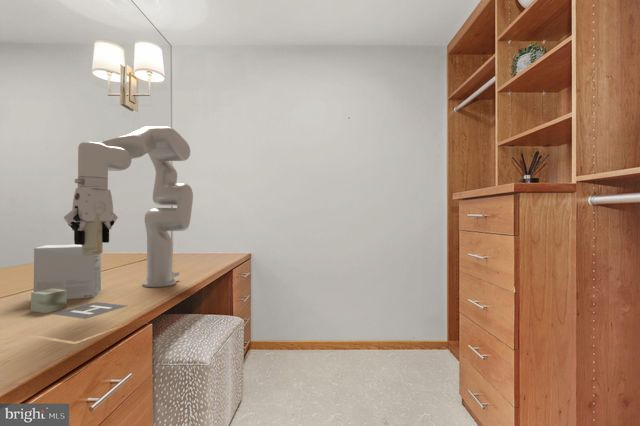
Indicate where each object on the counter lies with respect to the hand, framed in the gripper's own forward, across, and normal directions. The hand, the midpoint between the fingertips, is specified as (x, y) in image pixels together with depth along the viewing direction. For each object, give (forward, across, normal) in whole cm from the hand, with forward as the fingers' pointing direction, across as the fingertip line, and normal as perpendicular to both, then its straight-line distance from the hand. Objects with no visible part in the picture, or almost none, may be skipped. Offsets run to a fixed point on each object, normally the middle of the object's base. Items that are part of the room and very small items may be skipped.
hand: (92, 243), depth 103 cm
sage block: (+21, -4, +12) cm, 24 cm away
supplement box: (+21, +11, +24) cm, 34 cm away
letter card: (+20, 0, 0) cm, 20 cm away
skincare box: (+4, 0, 0) cm, 4 cm away
